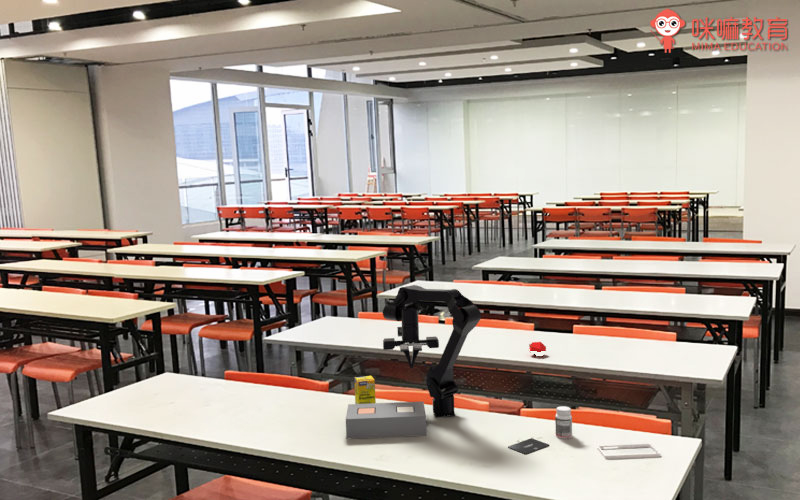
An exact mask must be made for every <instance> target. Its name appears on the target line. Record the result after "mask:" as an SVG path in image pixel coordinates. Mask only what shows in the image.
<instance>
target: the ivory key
mask: <svg viewBox="0 0 800 500" xmlns="http://www.w3.org/2000/svg"><path fill="white" fill-rule="evenodd" d="M397 412H414V410H413V406H412V407H397Z"/></svg>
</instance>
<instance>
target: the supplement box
mask: <svg viewBox="0 0 800 500" xmlns="http://www.w3.org/2000/svg"><path fill="white" fill-rule="evenodd" d="M354 399H355V400H354V401H355V403H354V404H370V403H376V381H375V378H374V377H373V376H372V375H366V376H354Z"/></svg>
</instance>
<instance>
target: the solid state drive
mask: <svg viewBox="0 0 800 500" xmlns="http://www.w3.org/2000/svg"><path fill="white" fill-rule="evenodd" d="M548 447H550V444H549V443H546V442H543V441H541V440H538V439H535V438H532V437H531V438H528V439H525V440H522V441H520V442H519V441H518V442H517V443H514V444H511V445H508V446H507V448H508V449H509V450H512V451H515V452H517V453H520V454H522V455H525V456H527V455H530V454H532V453H534V452H537V451H539V450H543V449H545V448H548Z"/></svg>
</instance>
